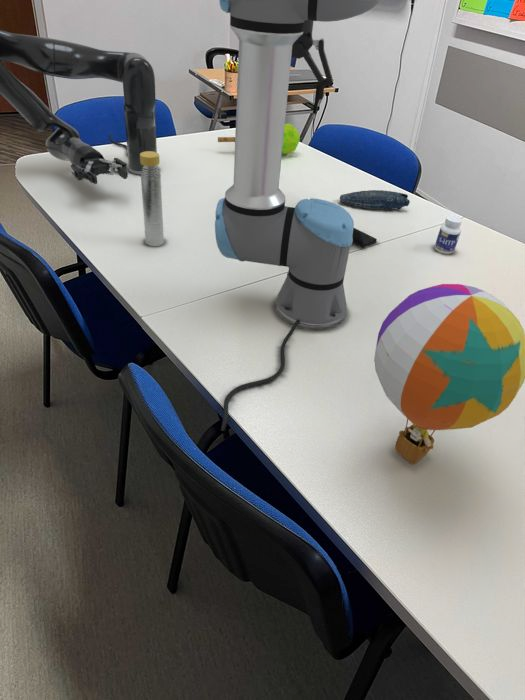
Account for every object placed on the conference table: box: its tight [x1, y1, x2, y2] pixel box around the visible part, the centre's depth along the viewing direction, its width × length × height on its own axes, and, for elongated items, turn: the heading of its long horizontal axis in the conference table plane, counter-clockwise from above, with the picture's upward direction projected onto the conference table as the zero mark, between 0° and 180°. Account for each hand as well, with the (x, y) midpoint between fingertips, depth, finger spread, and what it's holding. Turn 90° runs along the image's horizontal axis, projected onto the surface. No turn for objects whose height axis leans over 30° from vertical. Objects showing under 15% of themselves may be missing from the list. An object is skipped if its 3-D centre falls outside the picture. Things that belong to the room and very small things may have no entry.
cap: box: [140, 151, 160, 166], centre depth 119 cm, size 4×4×2 cm
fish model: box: [339, 189, 411, 211], centre depth 158 cm, size 7×21×5 cm, turn 84°
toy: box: [373, 283, 525, 466], centre depth 73 cm, size 20×20×30 cm
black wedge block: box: [352, 227, 378, 249], centre depth 139 cm, size 12×7×10 cm
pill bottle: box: [434, 215, 463, 255], centre depth 137 cm, size 5×5×9 cm
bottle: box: [140, 166, 165, 247], centre depth 125 cm, size 4×4×22 cm
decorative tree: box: [217, 123, 301, 155], centre depth 187 cm, size 18×10×30 cm
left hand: (111, 177), depth 139 cm, fingers open, 8 cm apart
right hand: (288, 109), depth 135 cm, fingers open, 13 cm apart
